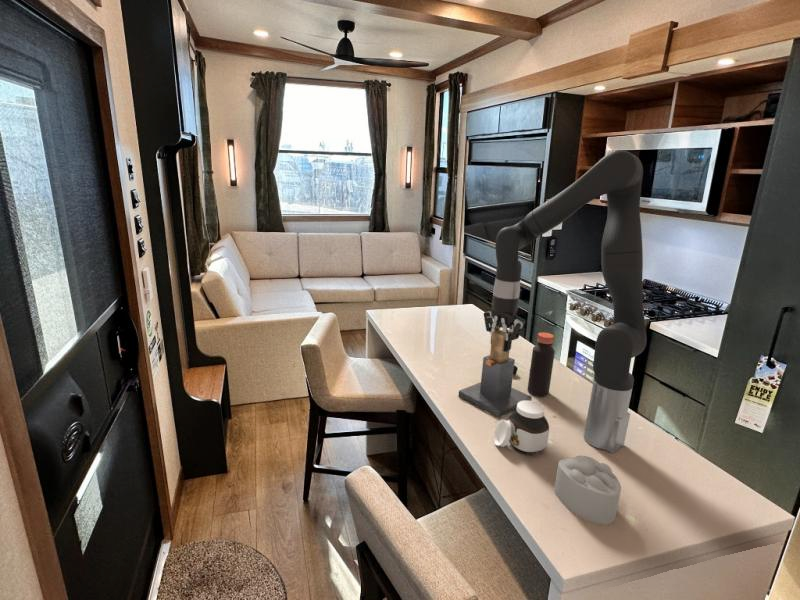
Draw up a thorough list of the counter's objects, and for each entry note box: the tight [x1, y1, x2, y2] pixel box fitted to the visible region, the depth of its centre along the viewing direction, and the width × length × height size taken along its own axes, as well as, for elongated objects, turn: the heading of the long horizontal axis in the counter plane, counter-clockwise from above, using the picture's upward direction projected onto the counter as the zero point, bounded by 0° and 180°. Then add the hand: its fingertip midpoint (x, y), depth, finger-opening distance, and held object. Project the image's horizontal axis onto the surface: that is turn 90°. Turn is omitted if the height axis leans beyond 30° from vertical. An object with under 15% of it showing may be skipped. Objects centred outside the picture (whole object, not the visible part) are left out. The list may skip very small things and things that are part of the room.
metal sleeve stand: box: [457, 354, 533, 419], centre depth 139 cm, size 16×16×14 cm
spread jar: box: [493, 400, 550, 455], centre depth 116 cm, size 12×11×12 cm
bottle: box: [527, 331, 556, 398], centre depth 145 cm, size 7×7×20 cm
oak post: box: [489, 329, 511, 363], centre depth 138 cm, size 4×4×20 cm
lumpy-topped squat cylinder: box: [553, 455, 622, 526], centre depth 97 cm, size 10×13×9 cm
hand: (500, 348), depth 136 cm, fingers closed on oak post, 4 cm apart
